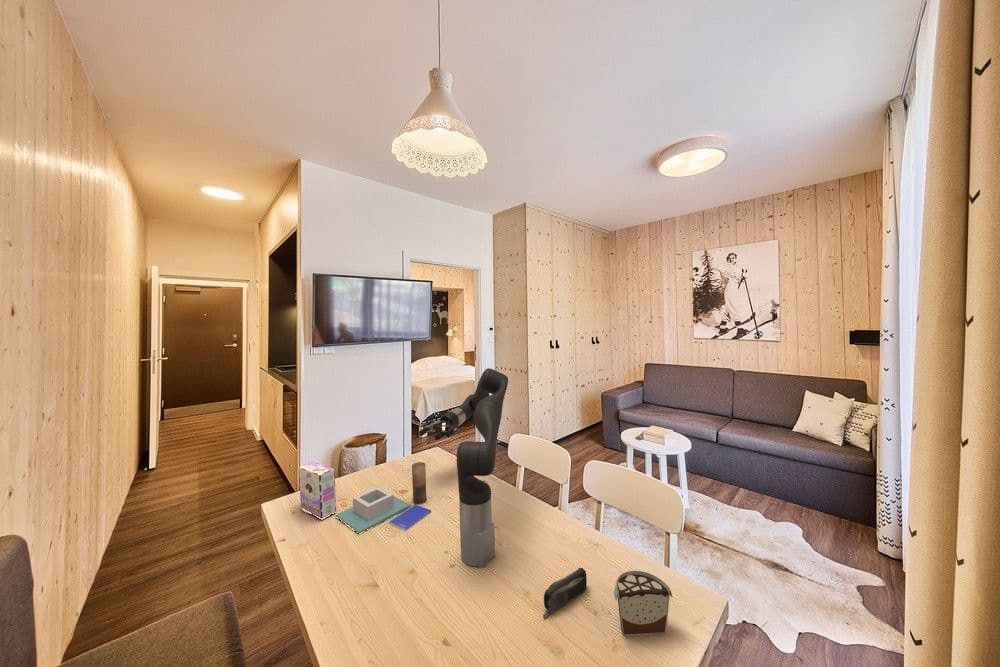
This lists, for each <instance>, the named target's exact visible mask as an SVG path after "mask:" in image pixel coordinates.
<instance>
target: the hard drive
mask: <svg viewBox="0 0 1000 667" xmlns="http://www.w3.org/2000/svg"><path fill="white" fill-rule="evenodd" d="M432 512H433V511H432V510H431V509H429V508H426V507H423V506H421V505H419V504H414V505H413V506H411V508H409V509H407V510H405V511H403V512H401V513H399V514H398V515H396V517H395V516H394V518H391V519H390V520H389V521H388V525H389V524H390V525H389V526H391V525H392V527H394V526H395V527H394V528H396V527H397V528H396V529H398V528H399V529H398V530H401V531H403V530H404V531H403V532H407V531H409V530H410V529H412V528H413V527H414V526H415V525H417V524H418V523H419V522H421V521H422V520H424V519H425V518H426V517H428V516H429V515H430V514H432Z"/></svg>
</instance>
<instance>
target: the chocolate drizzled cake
mask: <svg viewBox="0 0 1000 667" xmlns="http://www.w3.org/2000/svg"><path fill="white" fill-rule="evenodd" d="M613 594H614V599H615V601H617V603H618V605H617V606H618V612H619V614H618V615H619V622H620V630H621V634H622V637H633V636H649V635H666V634H667V626H668V625H667V624H668V616H669V615H668V614H669V607H670V597H671V599H672V598H673V593H672V590H671V588H670V586H669V585H668V584H667V583H666V582H665V581H664V580H662V579H661V578H659V577H658V576H656V575H654V574H652V573H649V572H647V571H642V570H629V571H625V572H623V573H621V574H620V575H619V576H618V578H617V580H616V581H615V585H614V589H613Z"/></svg>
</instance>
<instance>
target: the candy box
mask: <svg viewBox="0 0 1000 667" xmlns="http://www.w3.org/2000/svg"><path fill="white" fill-rule="evenodd" d="M298 475H299V476H298V477H299V479H298V481H299V492H300V495H299V496H300V508H301V507H302V508H304V509H305V510H307V511H309V512H311V513H312V514H314V515H316V516H318V517H320V518H323V517H326V516H328V515H330V514H332V513H334V512H336V513H337V501H336V499H337V498H336V481H335V480H336V478H335V477H336V475H335V468H331V467H330V466H326V465H323V464H320V463H318V462H315V461H311V462H310V463H307V464H304V465H301V466H299V467H298Z"/></svg>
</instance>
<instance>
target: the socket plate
mask: <svg viewBox="0 0 1000 667" xmlns="http://www.w3.org/2000/svg"><path fill="white" fill-rule="evenodd" d="M352 505H353V506H352V507H350V508H348V509H346V510H343V511H341V512H339V513H336V514H335V518H336V517H338V518H339V519H341V520H342V521H343V522H345V523H346V524H347V525H349V526H350V527H351V528H353V529H354V530H355V531H356V532H358V533H361V532H363V531H365V530H367V529H369V530H371V529H372V528H371V527H373V528H375V527H377V526H379V525H380V523H381V524H382V523H384V522H386V521H388V520H390V519H392V518H393V516H394V517H395V515H396V516H398V515H400V514H402V513H403V512H405V511H406V509H407V510H408V508H410V507H412V506H411V503H408V502H405V501H404V500H403V499H401V498H398V497H397V496H395V495H394V494H393V493H391V492H389V491H387V490H385V489H384V488H382V487H381V486H380V487H379V486H377V487H375V488H372V489H369V490H367V491H366V492H363V493H360V494H358V495H357V496H354V497H352ZM391 517H392V518H391ZM389 518H390V519H389ZM387 519H388V520H387ZM385 520H386V521H385ZM383 521H384V522H383ZM378 524H379V525H378ZM376 525H377V526H376ZM374 526H375V527H374ZM370 528H371V529H370ZM367 531H368V530H367ZM356 532H355V533H356Z"/></svg>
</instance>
